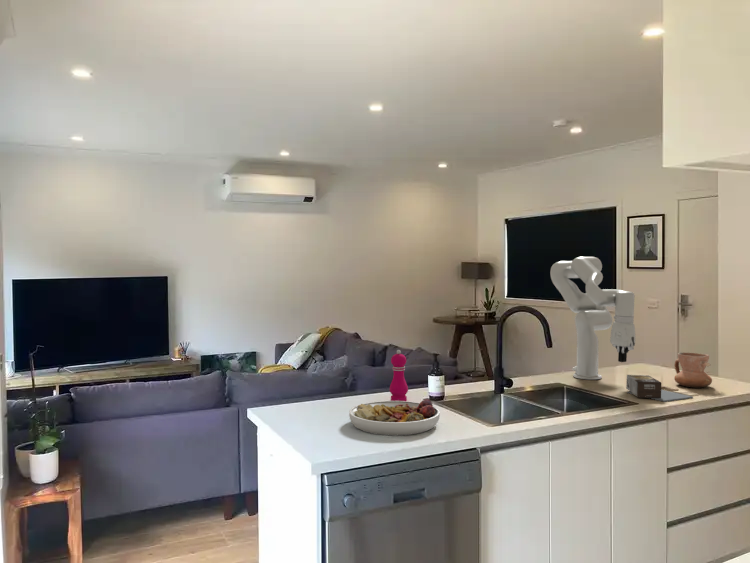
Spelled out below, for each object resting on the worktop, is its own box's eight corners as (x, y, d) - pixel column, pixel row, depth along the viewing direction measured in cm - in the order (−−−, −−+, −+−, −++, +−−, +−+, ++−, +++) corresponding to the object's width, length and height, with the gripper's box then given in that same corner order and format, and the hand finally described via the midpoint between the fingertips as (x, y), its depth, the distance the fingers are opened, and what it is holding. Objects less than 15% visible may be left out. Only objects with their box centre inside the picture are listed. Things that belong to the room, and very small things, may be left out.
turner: (648, 387, 259) (648, 384, 259) (657, 386, 261) (657, 383, 261) (689, 396, 241) (689, 393, 241) (698, 395, 243) (698, 392, 243)
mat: (627, 392, 247) (627, 391, 247) (655, 389, 254) (655, 388, 254) (664, 402, 231) (664, 400, 231) (693, 398, 238) (693, 396, 238)
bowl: (370, 443, 180) (370, 417, 179) (336, 419, 207) (336, 397, 207) (456, 432, 192) (456, 407, 191) (413, 411, 219) (413, 389, 219)
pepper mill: (410, 399, 236) (410, 349, 236) (403, 403, 230) (403, 351, 229) (393, 398, 239) (393, 348, 239) (386, 401, 233) (386, 350, 232)
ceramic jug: (722, 389, 255) (722, 355, 255) (695, 390, 251) (695, 356, 251) (689, 382, 272) (689, 350, 272) (663, 383, 268) (663, 351, 268)
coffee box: (649, 374, 250) (662, 382, 234) (648, 390, 251) (662, 398, 235) (626, 374, 252) (638, 381, 236) (625, 389, 252) (637, 397, 236)
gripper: (604, 318, 264) (602, 359, 265) (631, 322, 250) (629, 365, 252) (617, 317, 267) (615, 357, 268) (644, 321, 253) (642, 364, 255)
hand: (622, 361), depth 260 cm, fingers closed
